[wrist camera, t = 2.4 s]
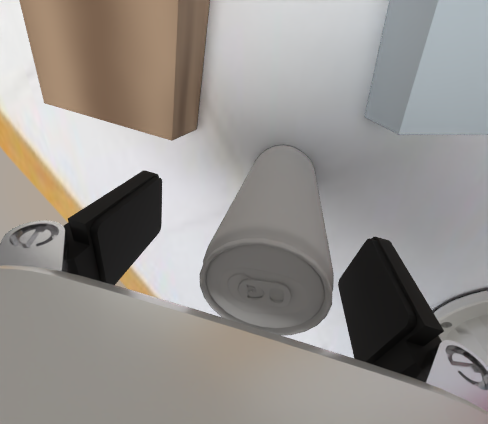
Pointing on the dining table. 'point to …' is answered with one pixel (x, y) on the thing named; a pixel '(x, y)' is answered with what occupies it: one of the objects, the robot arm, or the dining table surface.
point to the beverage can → (272, 249)
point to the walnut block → (121, 59)
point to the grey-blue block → (432, 69)
